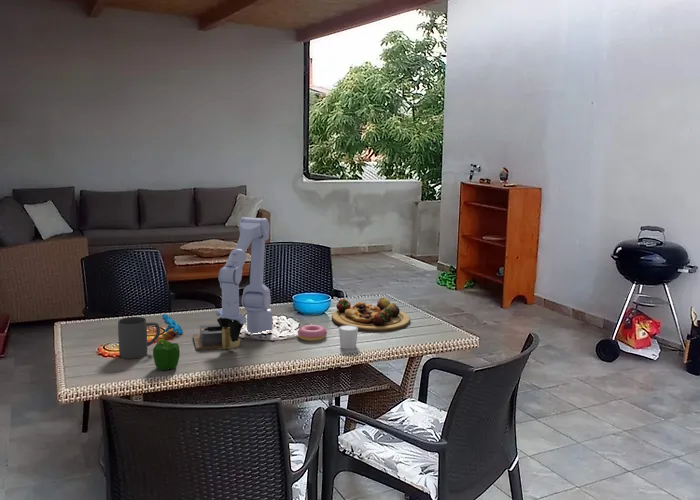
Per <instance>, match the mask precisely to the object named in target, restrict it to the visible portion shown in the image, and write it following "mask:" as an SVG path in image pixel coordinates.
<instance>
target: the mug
mask: <svg viewBox="0 0 700 500" xmlns="http://www.w3.org/2000/svg"><path fill="white" fill-rule="evenodd" d="M150 326H155V328H156V329H155V330H156V334H155V336H154V337H153V338H152V339H151V340H149V341H148V329H147V327H150ZM160 328H161V327H160V325H159V324H158V323H157V322H147V318H145V317H141V316H129V317H124V318H121V319H119V320H118V322H117V331H118V332H117V336H118V351H119V352H118V353H119V357H120V358H122V359H127V360H136V359H140V358H143V357H146V356H147V355H148V346H149V347H150V346H151V345H153V344H154V343H155V342H156V341H157V340H158V339H159V337H160V334H161V333H160V332H161V329H160Z"/></svg>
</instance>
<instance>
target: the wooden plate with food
mask: <svg viewBox="0 0 700 500" xmlns="http://www.w3.org/2000/svg"><path fill="white" fill-rule="evenodd" d="M336 309H337V310H334V312H333V313H332V314H331V320H332V322H333V323H334V324H335V325H336V326H338V327H340V326H344V325H353V326H356V327H358V332H365V333H384V332H385V333H386V332H393V331H398V330H402V329H404V328H407V327H408V326H409V325H410V323H411V318H410V316H409V314H407V313H405V312H404V311H401V310H400V308H399V306H398V305H397V304H396V303H395V302H392V303H391V302H390V300H389V299H387V298H386V297H385V296H382V297H380V298H379V299H378V301H377V304H376V305H373V304H370V303H369V304H368V303H367V304H366V303H365V302H362V301H361V302H358V303H357V302H356V303H354V305H351V302H350V301H349V300H347V299H346V298H341V299H339V300H338V301H337V303H336Z"/></svg>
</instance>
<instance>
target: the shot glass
mask: <svg viewBox="0 0 700 500" xmlns="http://www.w3.org/2000/svg"><path fill="white" fill-rule="evenodd" d="M338 333H339V344H340V348H342V349H346V350H352V349H356V348H357V347H356V346H357V343H358V342H357V341H358V333H359V331H358V327H356V326H353V325H344V326H338Z"/></svg>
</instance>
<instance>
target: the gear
mask: <svg viewBox="0 0 700 500" xmlns="http://www.w3.org/2000/svg"><path fill="white" fill-rule="evenodd" d="M161 319H162V320H163V322H164V323H165V324H166V325H167V327H166V328H165V329H164V330H163V331H164V332H166V333H168V331H169V330H172V331H173V332H174V333H177V334H178V335H183V334H184V330H183V328H182V326H181V325H180V324H179V323H178V322H177V320H176V319H173V318H172V317H171V316H169V315H168V314H166V313H165V314H162V315H161Z"/></svg>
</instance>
